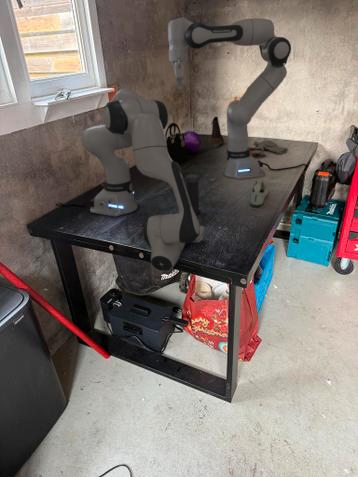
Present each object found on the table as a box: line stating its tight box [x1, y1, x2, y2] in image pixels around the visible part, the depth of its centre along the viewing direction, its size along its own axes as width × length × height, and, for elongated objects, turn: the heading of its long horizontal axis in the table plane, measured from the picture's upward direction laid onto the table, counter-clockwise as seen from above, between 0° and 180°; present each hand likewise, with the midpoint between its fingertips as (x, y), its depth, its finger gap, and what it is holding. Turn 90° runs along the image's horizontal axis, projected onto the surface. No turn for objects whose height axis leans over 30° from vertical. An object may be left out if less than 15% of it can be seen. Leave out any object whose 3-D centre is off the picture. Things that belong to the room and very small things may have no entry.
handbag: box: [164, 122, 188, 165], centre depth 210 cm, size 21×9×25 cm, turn 148°
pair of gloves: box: [247, 139, 289, 158], centre depth 226 cm, size 30×26×5 cm
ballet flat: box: [249, 179, 269, 207], centre depth 158 cm, size 8×24×8 cm, turn 163°
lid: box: [185, 173, 200, 183], centre depth 141 cm, size 6×6×2 cm
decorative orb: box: [183, 130, 202, 154], centre depth 230 cm, size 15×15×15 cm
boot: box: [210, 116, 225, 149], centre depth 246 cm, size 9×24×20 cm, turn 168°
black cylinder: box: [186, 181, 200, 215], centre depth 145 cm, size 5×5×17 cm
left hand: (182, 222), depth 131 cm, fingers open, 8 cm apart
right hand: (179, 88), depth 167 cm, fingers open, 8 cm apart
